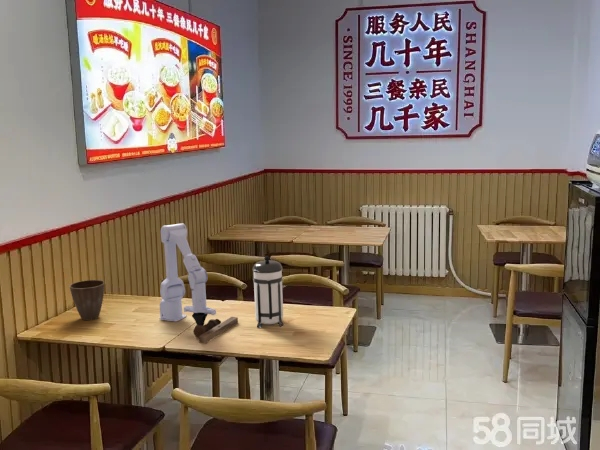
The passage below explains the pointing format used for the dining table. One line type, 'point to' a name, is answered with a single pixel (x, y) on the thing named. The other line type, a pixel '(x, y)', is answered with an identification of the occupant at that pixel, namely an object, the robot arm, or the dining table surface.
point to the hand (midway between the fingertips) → (200, 329)
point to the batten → (218, 330)
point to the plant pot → (88, 298)
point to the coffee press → (268, 292)
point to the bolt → (205, 327)
